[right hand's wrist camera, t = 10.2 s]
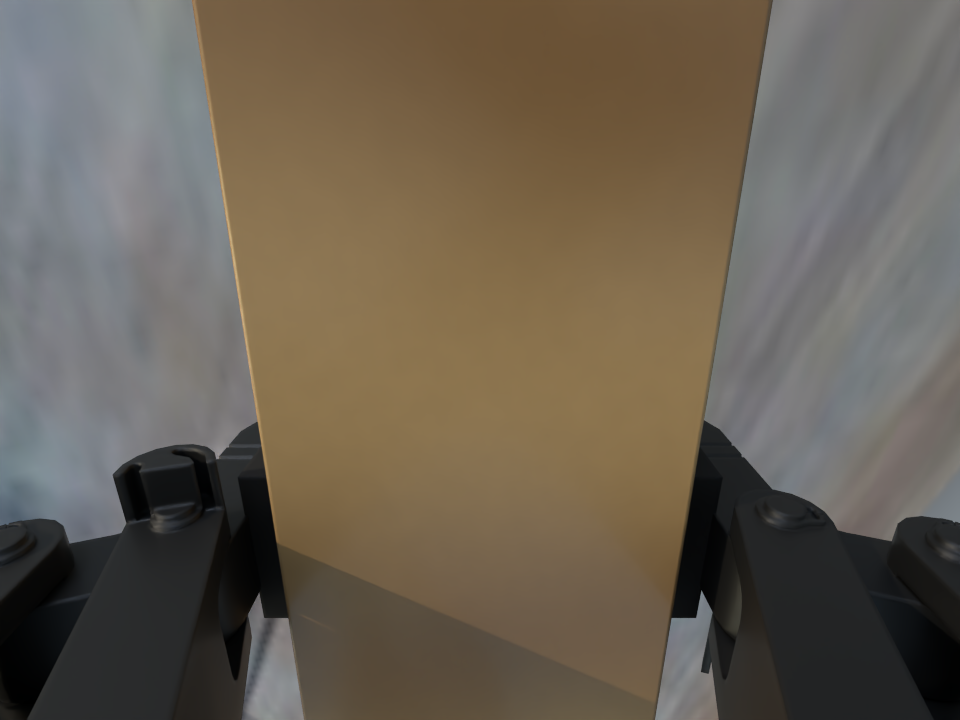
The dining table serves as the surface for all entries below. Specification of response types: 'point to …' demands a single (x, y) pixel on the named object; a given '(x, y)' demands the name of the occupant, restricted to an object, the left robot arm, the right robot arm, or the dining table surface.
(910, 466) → the dining table surface
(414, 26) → the bar
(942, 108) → the dining table surface
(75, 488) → the dining table surface
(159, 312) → the dining table surface
